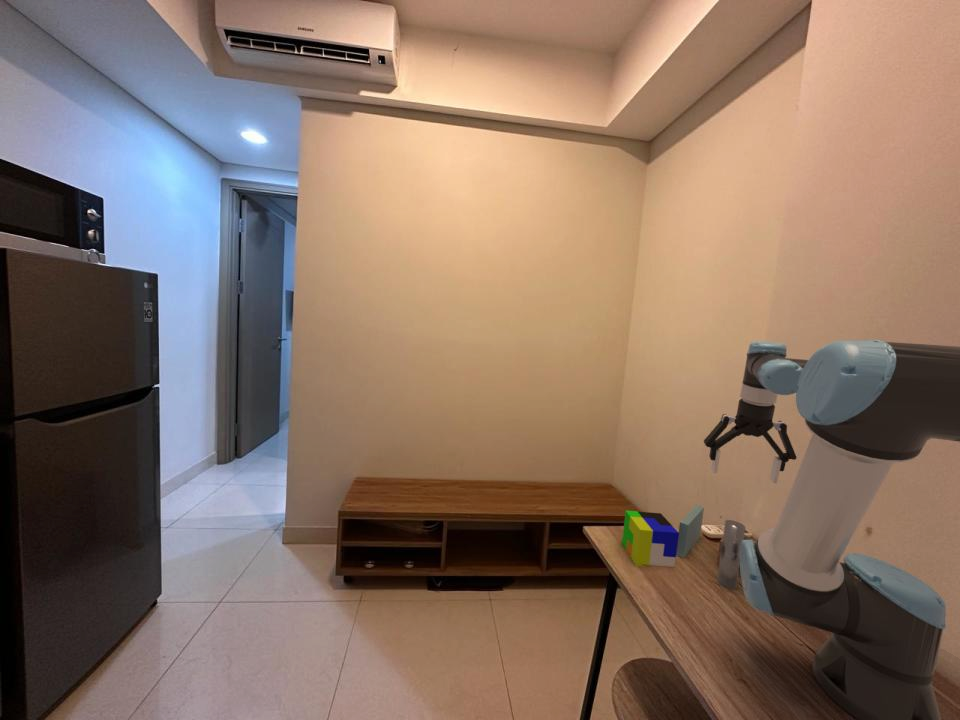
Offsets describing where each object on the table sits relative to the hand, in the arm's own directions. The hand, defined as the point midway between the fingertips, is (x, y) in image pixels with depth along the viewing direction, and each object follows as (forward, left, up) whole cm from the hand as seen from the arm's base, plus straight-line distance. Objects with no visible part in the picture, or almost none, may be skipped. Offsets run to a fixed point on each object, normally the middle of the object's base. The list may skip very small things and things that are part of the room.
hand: (742, 475), depth 100 cm
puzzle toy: (-17, +16, -24) cm, 34 cm away
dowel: (-14, -2, -24) cm, 28 cm away
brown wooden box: (-3, -3, -23) cm, 24 cm away
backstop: (-3, 0, -24) cm, 24 cm away
